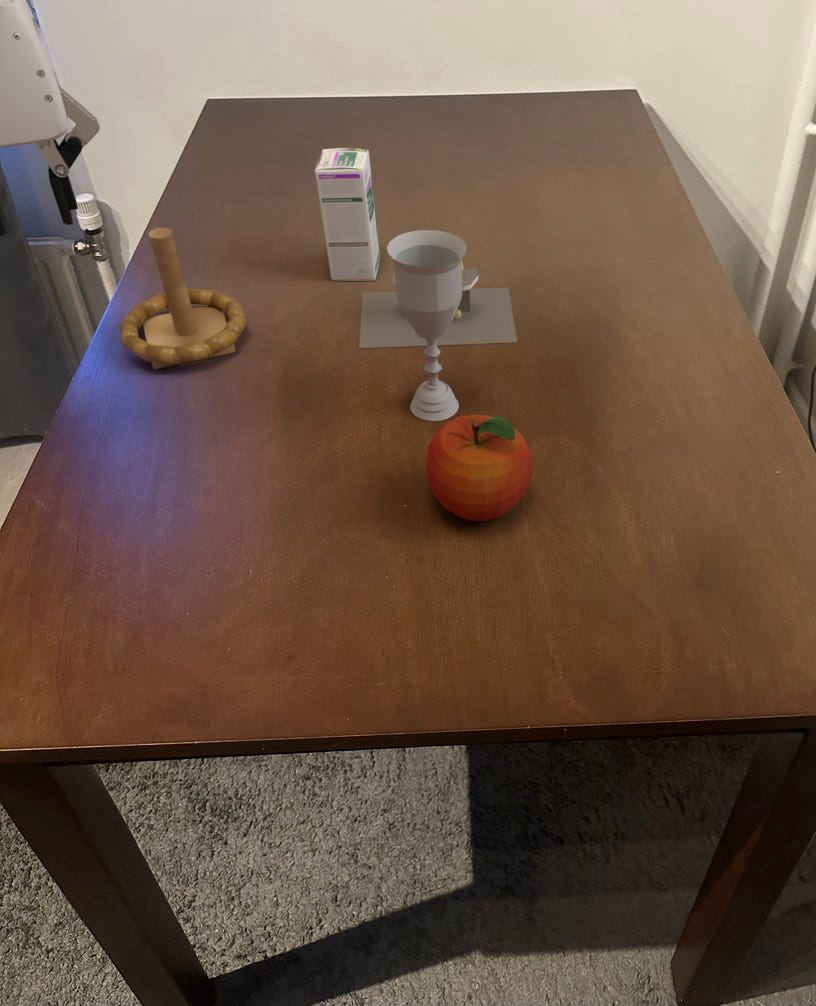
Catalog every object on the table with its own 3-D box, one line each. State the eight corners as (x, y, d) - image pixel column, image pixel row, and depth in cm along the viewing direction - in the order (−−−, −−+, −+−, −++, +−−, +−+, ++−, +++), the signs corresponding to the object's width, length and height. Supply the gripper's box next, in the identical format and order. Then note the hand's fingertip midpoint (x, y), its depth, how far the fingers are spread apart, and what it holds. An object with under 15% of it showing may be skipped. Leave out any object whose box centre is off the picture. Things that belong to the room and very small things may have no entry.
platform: (517, 342, 101) (519, 291, 97) (359, 348, 101) (353, 297, 96) (508, 287, 110) (509, 238, 105) (362, 292, 109) (357, 243, 105)
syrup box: (376, 281, 111) (365, 167, 101) (329, 281, 111) (313, 167, 101) (380, 258, 115) (370, 147, 105) (335, 258, 115) (320, 147, 105)
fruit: (461, 454, 87) (459, 371, 80) (547, 488, 84) (553, 404, 77) (407, 513, 82) (400, 429, 75) (497, 552, 78) (499, 468, 71)
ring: (129, 377, 95) (125, 363, 93) (118, 312, 104) (113, 299, 102) (257, 350, 98) (254, 336, 97) (234, 290, 107) (232, 277, 106)
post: (153, 369, 98) (119, 260, 88) (144, 327, 104) (111, 221, 94) (235, 352, 100) (210, 244, 91) (221, 311, 106) (197, 206, 97)
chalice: (478, 394, 94) (477, 237, 82) (456, 432, 90) (451, 273, 77) (414, 380, 96) (404, 225, 84) (389, 418, 92) (374, 259, 79)
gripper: (71, -42, 68) (133, 190, 80) (-181, -22, 63) (-73, 221, 76) (78, -18, 63) (143, 225, 75) (-195, 5, 58) (-77, 261, 71)
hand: (34, 221), depth 75 cm, fingers open, 4 cm apart
